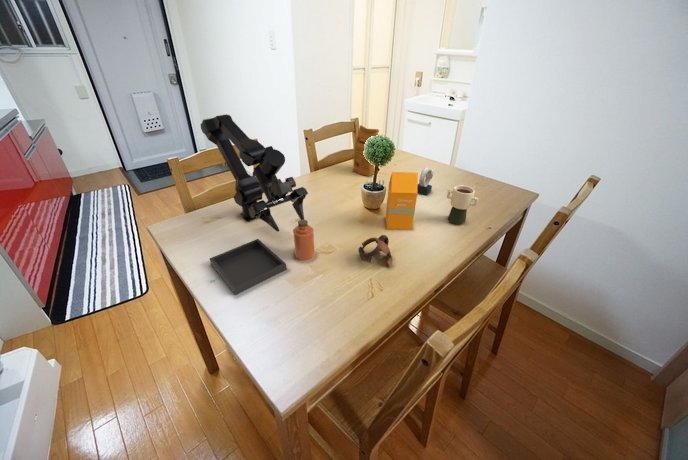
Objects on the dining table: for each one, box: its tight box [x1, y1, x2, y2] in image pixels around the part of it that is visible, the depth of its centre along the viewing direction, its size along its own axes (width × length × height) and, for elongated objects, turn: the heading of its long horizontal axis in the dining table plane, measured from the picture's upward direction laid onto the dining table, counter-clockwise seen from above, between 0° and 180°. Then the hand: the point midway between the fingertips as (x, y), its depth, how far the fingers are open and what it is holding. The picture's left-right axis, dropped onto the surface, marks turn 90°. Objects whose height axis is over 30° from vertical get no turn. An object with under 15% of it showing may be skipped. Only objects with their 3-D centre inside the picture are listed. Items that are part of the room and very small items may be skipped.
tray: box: [209, 238, 288, 296], centre depth 88 cm, size 17×16×3 cm
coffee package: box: [352, 124, 380, 177], centre depth 146 cm, size 10×12×22 cm
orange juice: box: [385, 171, 419, 230], centre depth 105 cm, size 8×9×20 cm
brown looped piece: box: [358, 234, 393, 268], centre depth 92 cm, size 12×10×8 cm
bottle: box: [292, 218, 316, 262], centre depth 91 cm, size 6×6×12 cm
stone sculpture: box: [417, 167, 435, 196], centre depth 130 cm, size 6×8×11 cm
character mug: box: [446, 184, 479, 225], centre depth 109 cm, size 11×7×13 cm, turn 52°
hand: (291, 226), depth 94 cm, fingers open, 9 cm apart
